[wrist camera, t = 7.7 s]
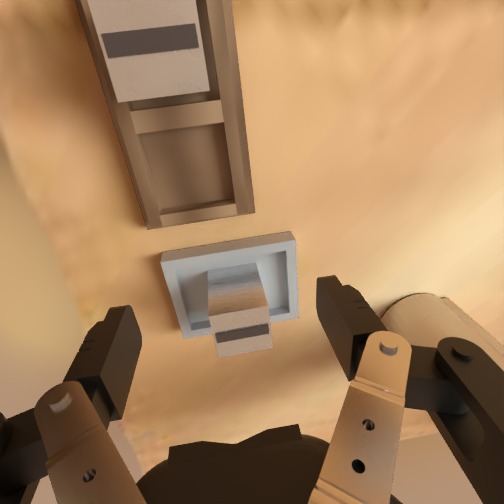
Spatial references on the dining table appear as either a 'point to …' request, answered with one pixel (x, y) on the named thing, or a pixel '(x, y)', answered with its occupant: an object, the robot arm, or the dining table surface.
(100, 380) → the robot arm
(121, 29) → the block
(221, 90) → the frame
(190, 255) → the tray
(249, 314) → the block
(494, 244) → the dining table surface
